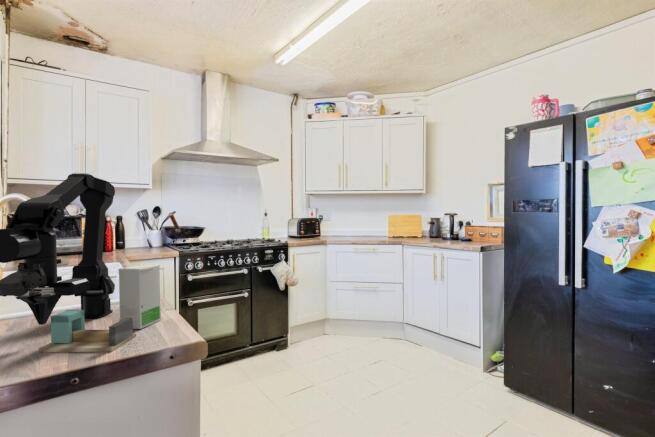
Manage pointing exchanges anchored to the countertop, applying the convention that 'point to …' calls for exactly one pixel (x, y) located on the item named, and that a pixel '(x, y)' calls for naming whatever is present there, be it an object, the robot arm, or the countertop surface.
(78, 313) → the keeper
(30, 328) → the countertop surface
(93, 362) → the countertop surface
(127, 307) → the skincare box
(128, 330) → the board
